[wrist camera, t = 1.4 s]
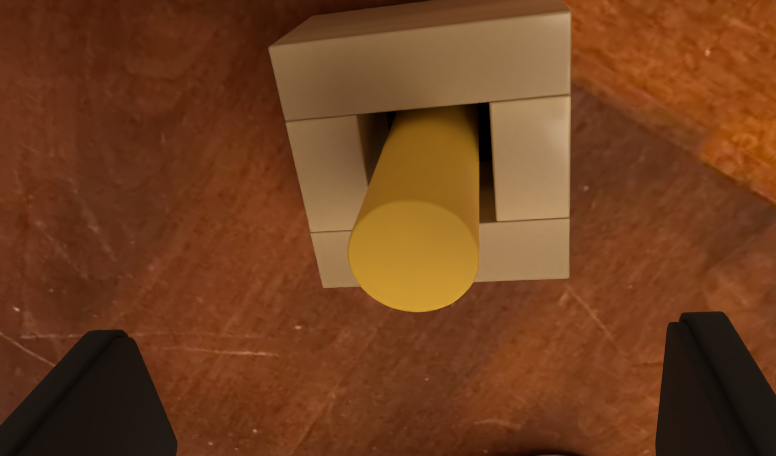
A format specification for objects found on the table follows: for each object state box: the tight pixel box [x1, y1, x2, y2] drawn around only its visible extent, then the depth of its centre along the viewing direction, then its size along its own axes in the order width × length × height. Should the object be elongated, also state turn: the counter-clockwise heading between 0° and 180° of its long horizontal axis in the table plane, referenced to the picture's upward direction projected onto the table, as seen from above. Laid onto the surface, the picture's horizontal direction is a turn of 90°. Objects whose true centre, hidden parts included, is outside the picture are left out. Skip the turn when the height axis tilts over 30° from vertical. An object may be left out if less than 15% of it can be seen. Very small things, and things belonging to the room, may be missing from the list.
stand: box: [269, 0, 572, 288], centre depth 20 cm, size 8×8×5 cm
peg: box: [347, 103, 479, 312], centre depth 18 cm, size 3×3×10 cm
